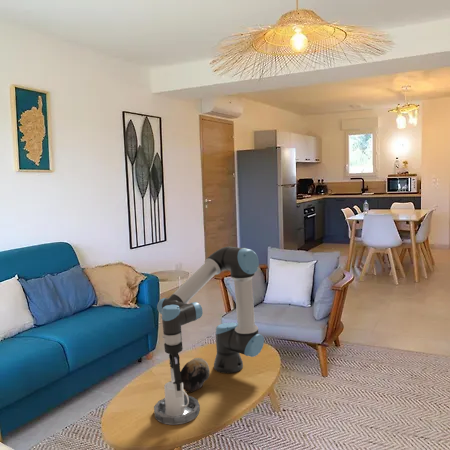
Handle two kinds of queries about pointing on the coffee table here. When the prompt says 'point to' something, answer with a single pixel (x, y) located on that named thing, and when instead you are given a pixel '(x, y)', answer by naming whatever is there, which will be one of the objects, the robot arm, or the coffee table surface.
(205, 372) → the decorative stone
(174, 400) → the mug
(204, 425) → the coffee table surface
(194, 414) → the gray metal bowl
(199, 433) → the coffee table surface
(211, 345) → the coffee table surface
